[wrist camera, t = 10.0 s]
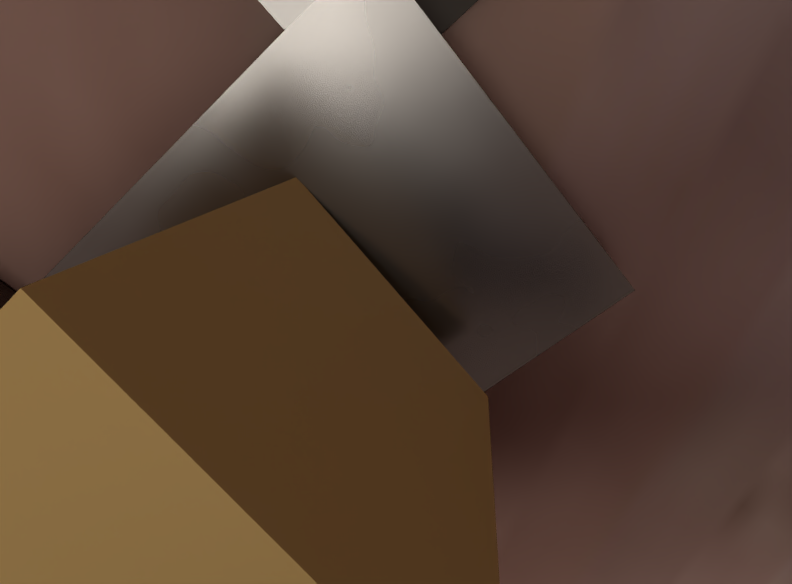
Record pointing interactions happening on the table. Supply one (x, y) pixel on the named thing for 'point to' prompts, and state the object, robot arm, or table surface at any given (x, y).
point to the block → (238, 416)
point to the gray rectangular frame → (389, 180)
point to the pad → (444, 11)
